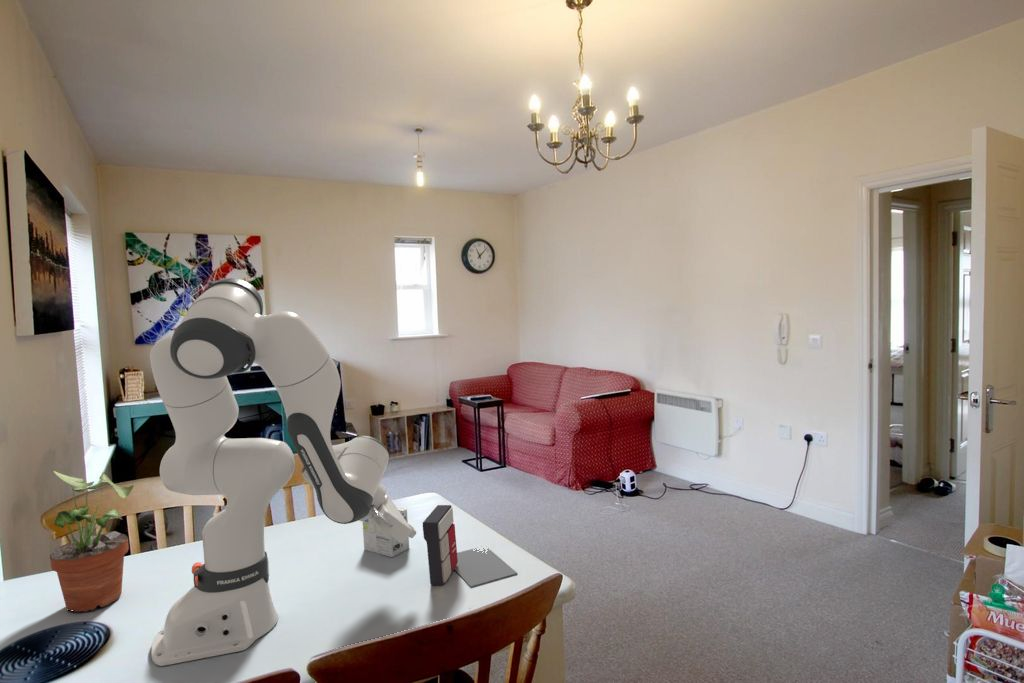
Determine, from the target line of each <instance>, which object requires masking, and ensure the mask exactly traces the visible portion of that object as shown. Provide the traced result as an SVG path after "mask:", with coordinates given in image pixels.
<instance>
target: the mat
mask: <svg viewBox="0 0 1024 683" xmlns="http://www.w3.org/2000/svg"><path fill="white" fill-rule="evenodd" d="M476 548H477V547H475V549H476ZM473 549H474V548H471V549H466V550H462V551H459V552H458V551H457V559H458V563H457V564H456V566H455V568H454V569H453V571H454V572H456V573H457V575H458V576H460V577H461V579H462V580H463V581H464V582H465V583H466V584H467V585H468V587H470V588H474V587H477V586H480V585H484V584H488V583H492V582H496V581H498V579H499V580H501V579H502V580H503V579H506V578H508V576H509V577H513V576H516V575H518V572H517V571H516V570H515V569H514V568H512V567H511V566H510V565H509V564H507V563H506V562H505V561H504V560H503V559H502V558H501V557H499V556H498V555H497V554H496V553H495V552H493V550H491V549H490V548H489V547H488V549H487V550H488V551H487V552H486V553H487V554H486V553H485V551H486V550H485V549H484V548H483V549H484V550H483V551H484V552H483V551H479V550H480V549H479V550H477V549H476V550H475V549H474V550H475V551H473ZM489 549H490V550H489ZM477 551H479V552H477ZM482 552H483V553H482ZM505 577H506V578H505Z"/></svg>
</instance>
